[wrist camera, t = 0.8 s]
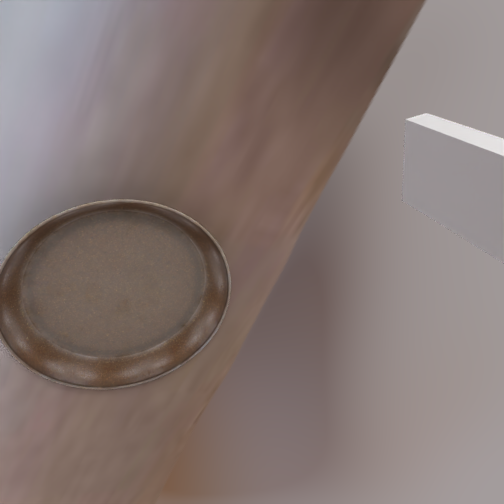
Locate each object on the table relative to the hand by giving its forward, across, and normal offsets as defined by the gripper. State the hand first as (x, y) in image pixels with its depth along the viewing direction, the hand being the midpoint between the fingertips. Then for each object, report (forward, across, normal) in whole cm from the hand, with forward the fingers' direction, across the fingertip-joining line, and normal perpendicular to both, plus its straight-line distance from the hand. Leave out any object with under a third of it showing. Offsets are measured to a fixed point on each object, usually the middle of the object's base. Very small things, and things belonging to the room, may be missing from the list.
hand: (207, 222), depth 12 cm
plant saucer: (+26, -6, -18) cm, 33 cm away
